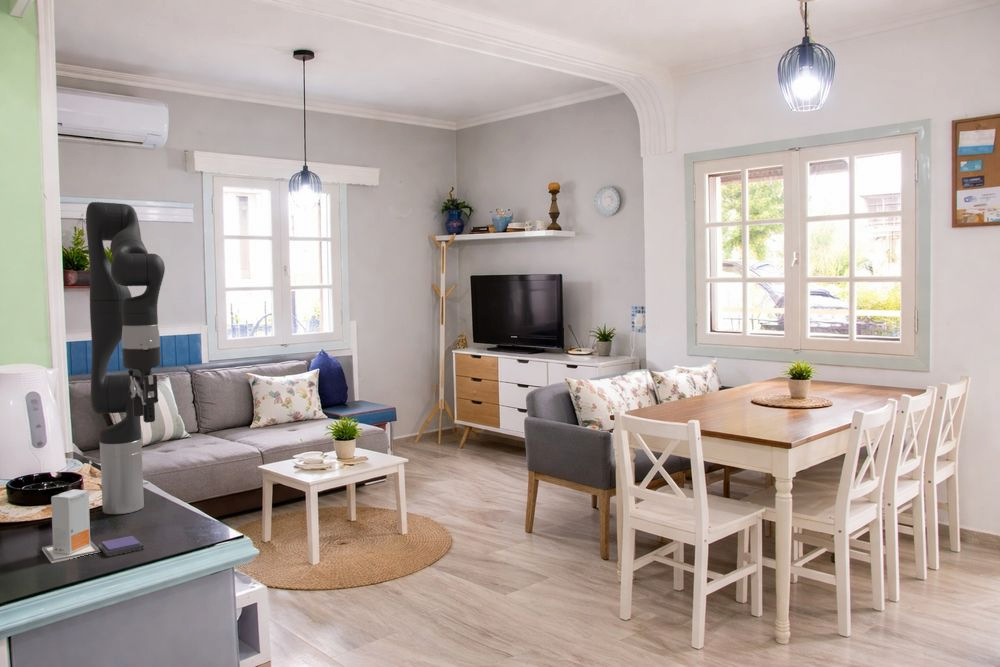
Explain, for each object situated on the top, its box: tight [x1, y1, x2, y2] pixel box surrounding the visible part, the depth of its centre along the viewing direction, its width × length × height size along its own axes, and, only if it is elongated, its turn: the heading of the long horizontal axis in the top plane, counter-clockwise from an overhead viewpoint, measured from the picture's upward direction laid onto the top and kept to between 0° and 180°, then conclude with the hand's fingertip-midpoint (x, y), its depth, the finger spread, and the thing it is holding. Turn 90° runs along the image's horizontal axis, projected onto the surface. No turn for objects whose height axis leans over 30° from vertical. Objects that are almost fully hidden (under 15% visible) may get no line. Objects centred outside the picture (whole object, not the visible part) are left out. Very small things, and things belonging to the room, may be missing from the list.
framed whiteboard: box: [41, 539, 101, 564], centre depth 167 cm, size 10×9×1 cm
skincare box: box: [50, 488, 91, 554], centre depth 166 cm, size 6×4×12 cm
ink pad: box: [98, 535, 144, 557], centre depth 168 cm, size 7×7×1 cm
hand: (144, 418), depth 175 cm, fingers open, 8 cm apart
